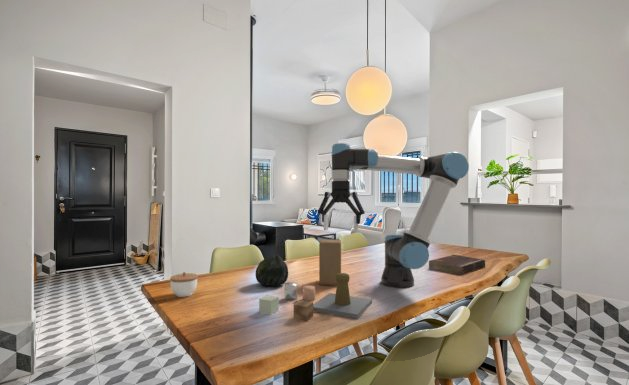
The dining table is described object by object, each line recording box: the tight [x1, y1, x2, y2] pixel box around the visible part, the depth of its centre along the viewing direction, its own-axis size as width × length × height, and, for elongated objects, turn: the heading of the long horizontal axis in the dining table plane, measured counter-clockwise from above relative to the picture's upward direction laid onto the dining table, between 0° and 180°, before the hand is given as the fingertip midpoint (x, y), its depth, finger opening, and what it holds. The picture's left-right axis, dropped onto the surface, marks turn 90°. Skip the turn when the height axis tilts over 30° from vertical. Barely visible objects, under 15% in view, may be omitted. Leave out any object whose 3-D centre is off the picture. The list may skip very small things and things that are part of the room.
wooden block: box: [318, 238, 342, 286], centre depth 156 cm, size 10×10×20 cm
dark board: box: [313, 292, 373, 320], centre depth 123 cm, size 18×18×2 cm
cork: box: [335, 272, 351, 306], centre depth 123 cm, size 6×6×11 cm
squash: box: [255, 254, 289, 287], centre depth 153 cm, size 14×15×15 cm
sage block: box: [258, 294, 280, 316], centre depth 118 cm, size 5×5×5 cm
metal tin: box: [284, 281, 298, 302], centre depth 132 cm, size 5×5×6 cm
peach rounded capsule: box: [302, 285, 316, 302], centre depth 131 cm, size 5×5×5 cm
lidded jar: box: [170, 271, 199, 298], centre depth 138 cm, size 11×11×9 cm
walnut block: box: [293, 299, 314, 323], centre depth 112 cm, size 5×5×5 cm
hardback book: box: [428, 254, 486, 276], centre depth 188 cm, size 29×19×5 cm, turn 130°
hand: (340, 230), depth 138 cm, fingers open, 13 cm apart
